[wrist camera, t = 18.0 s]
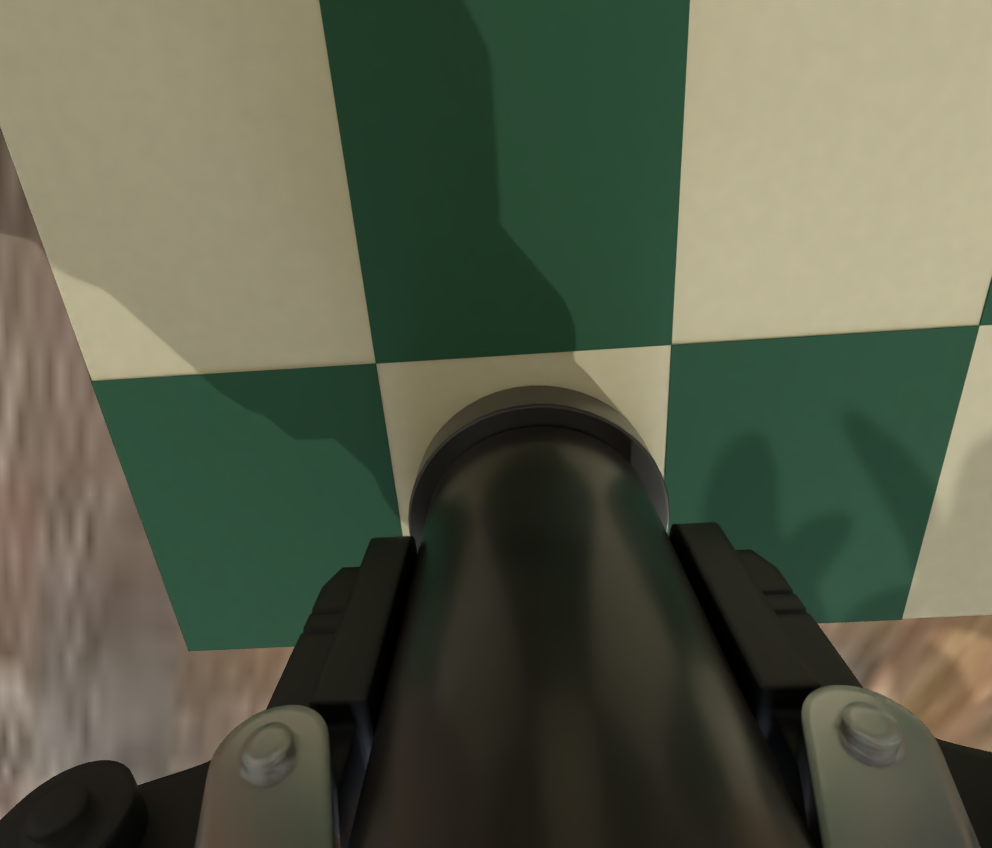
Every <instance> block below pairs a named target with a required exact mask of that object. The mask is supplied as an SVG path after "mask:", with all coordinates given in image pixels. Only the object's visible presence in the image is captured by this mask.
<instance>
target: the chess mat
mask: <svg viewBox="0 0 992 848" xmlns="http://www.w3.org/2000/svg"><path fill="white" fill-rule="evenodd" d="M0 128H1V130H2V133H3V136H4V139H5V141H6V144H7V147H8V150H9V152H10V155H11V158H12V161H13V163H14V166H15V169H16V172H17V175H18V177H19V180H20V183H21V186H22V188H23V191H24V194H25V197H26V199H27V202H28V205H29V208H30V211H31V213H32V216H33V219H34V222H35V224H36V227H37V230H38V233H39V235H40V238H41V241H42V244H43V246H44V249H45V252H46V255H47V258H48V260H49V263H50V266H51V269H52V271H53V274H54V277H55V280H56V282H57V285H58V288H59V291H60V294H61V296H62V299H63V302H64V305H65V307H66V310H67V313H68V316H69V318H70V321H71V324H72V327H73V329H74V332H75V335H76V338H77V341H78V343H79V346H80V349H81V352H82V354H83V357H84V360H85V363H86V365H87V368H88V371H89V374H90V377H91V379H92V382H91V383H92V386H93V388H94V391H95V394H96V397H97V400H98V402H99V405H100V408H101V411H102V413H103V416H104V419H105V422H106V424H107V427H108V430H109V433H110V435H111V438H112V441H113V444H114V446H115V449H116V452H117V455H118V457H119V460H120V463H121V466H122V469H123V471H124V474H125V477H126V480H127V482H128V485H129V488H130V491H131V493H132V496H133V499H134V502H135V504H136V507H137V510H138V513H139V515H140V518H141V521H142V524H143V526H144V529H145V532H146V535H147V538H148V540H149V543H150V546H151V549H152V551H153V554H154V557H155V560H156V562H157V565H158V568H159V571H160V573H161V576H162V579H163V582H164V584H165V587H166V590H167V593H168V595H169V598H170V601H171V604H172V606H173V609H174V612H175V615H176V618H177V620H178V623H179V626H180V629H181V631H182V634H183V637H184V640H185V642H186V645H187V648H188V651H203V650H226V649H249V648H271V647H294V646H295V645H296V643H297V641H298V639H299V637H300V634H301V633H303V628H304V626H305V623H306V621H307V619H308V617H309V615H310V614H312V608H313V606H314V604H315V602H316V599H317V597H318V595H319V593H320V591H321V588H322V587H323V586H324V585H325V584H326V583H327V582H328V581H329V580H330V579H331V578H332V577H333V576H334V575H335V574H336V573H337V572H338V571H339V570H340V569H341V568H342V567H360V565H361V563H362V560H363V558H364V555H365V552H366V550H367V547H368V545H369V542H370V540H371V539H372V538H379V537H400V536H410V534H409V522H408V514H409V502H410V498H411V494H412V490H413V486H414V483H415V480H416V476H417V473H418V470H419V467H420V464H421V461H422V459H423V456H424V454H425V451H426V449H427V448H428V446H429V444H430V443H431V441H432V439H433V438H434V436H435V435H436V434H437V433H438V431H439V430H440V429H441V428H442V426H443V425H444V424H445V423H446V422H447V421H448V420H450V419H451V418H452V417H453V416H454V415H455V414H456V413H458V412H459V411H461V410H462V409H463V408H465V407H466V406H468V405H469V404H471V403H473V402H475V401H477V400H479V399H480V398H483V397H485V396H488V395H490V394H493V393H495V392H498V391H502V390H506V389H510V388H515V387H524V386H554V387H562V388H567V389H571V390H575V391H579V392H582V393H584V394H587V395H589V396H592V397H594V398H597V399H598V400H600V401H602V402H604V403H605V404H607V405H609V406H611V407H612V408H613V409H615V410H616V411H617V412H619V413H620V414H621V415H622V416H624V417H625V418H626V419H627V421H628V422H629V423H630V424H631V425H632V426H633V427H634V428H635V429H636V431H637V432H638V433H639V435H640V436H641V437H642V439H643V441H644V442H645V444H646V446H647V448H648V450H649V451H650V453H651V455H652V457H653V459H654V460H655V462H656V464H657V466H658V468H659V470H660V472H661V474H662V476H663V479H664V482H665V485H666V488H667V491H668V497H669V503H670V524H669V531H668V536H669V535H670V529H671V526H672V525H673V524H685V523H706V522H716V523H718V524H719V525H720V527H721V528H722V530H723V531H724V533H725V535H726V536H727V538H728V539H729V541H730V542H731V544H732V546H733V547H734V549H735V550H747V549H751V550H753V551H754V552H756V553H757V554H759V555H760V556H761V557H763V558H764V559H766V560H767V561H768V562H770V563H771V564H773V565H774V566H776V567H777V568H778V570H779V571H780V572H781V574H782V575H783V577H784V578H785V579H786V581H787V582H788V584H789V585H790V586H791V588H792V589H793V594H796V595H797V596H798V598H799V599H800V600H801V602H802V603H803V605H804V606H805V607H806V611H807V614H808V613H810V614H811V616H812V617H813V618H814V620H815V621H816V623H838V622H861V621H883V620H902V619H906V618H928V617H951V616H973V615H992V0H0Z"/></svg>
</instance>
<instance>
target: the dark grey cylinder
mask: <svg viewBox="0 0 992 848" xmlns="http://www.w3.org/2000/svg"><path fill="white" fill-rule="evenodd" d="M408 522H409V534H410V536H413V537H414V539H415V542H416V547H417V558H416V562H415V566H414V570H413V575H412V579H411V583H410V587H409V591H408V596H407V600H406V604H405V608H404V612H403V617H402V621H401V625H400V629H399V634H398V638H397V642H396V646H395V650H394V655H393V659H392V663H391V667H390V671H389V676H388V680H387V684H386V688H385V692H384V697H383V701H382V705H381V709H380V713H379V718H378V722H377V726H376V730H375V734H374V739H373V743H372V747H371V751H370V755H369V760H368V764H367V768H366V772H365V776H364V781H363V785H362V789H361V793H360V797H359V802H358V806H357V810H356V814H355V818H354V823H353V827H352V831H351V835H350V839H349V844H348V848H816V846H815V844H814V842H813V839H812V837H811V835H810V833H809V831H808V829H807V827H806V825H805V823H804V821H803V818H802V816H801V814H800V812H799V810H798V808H797V806H796V804H795V802H794V799H793V797H792V795H791V793H790V791H789V789H788V787H787V785H786V783H785V780H784V778H783V776H782V774H781V772H780V770H779V768H778V766H777V764H776V762H775V759H774V757H773V755H772V753H771V751H770V749H769V747H768V745H767V743H766V740H765V738H764V736H763V734H762V732H761V730H760V728H759V726H758V724H757V721H756V719H755V717H754V715H753V713H752V711H751V709H750V707H749V705H748V703H747V700H746V698H745V696H744V694H743V692H742V690H741V688H740V686H739V684H738V681H737V679H736V677H735V675H734V673H733V671H732V669H731V667H730V665H729V663H728V660H727V658H726V656H725V654H724V652H723V650H722V648H721V646H720V644H719V641H718V639H717V637H716V635H715V633H714V631H713V629H712V627H711V625H710V622H709V620H708V618H707V616H706V614H705V612H704V610H703V608H702V606H701V604H700V601H699V599H698V597H697V595H696V593H695V591H694V589H693V587H692V585H691V582H690V580H689V578H688V576H687V574H686V572H685V570H684V568H683V566H682V563H681V561H680V559H679V557H678V555H677V553H676V551H675V549H674V547H673V545H672V542H671V540H670V538H669V536H668V531H669V524H670V503H669V497H668V491H667V488H666V485H665V482H664V479H663V476H662V474H661V472H660V470H659V468H658V466H657V464H656V462H655V460H654V459H653V457H652V455H651V453H650V451H649V450H648V448H647V446H646V444H645V442H644V441H643V439H642V437H641V436H640V435H639V433H638V432H637V431H636V429H635V428H634V427H633V426H632V425H631V424H630V423H629V422H628V421H627V419H626V418H625V417H624V416H622V415H621V414H620V413H619V412H617V411H616V410H615V409H613V408H612V407H611V406H609V405H607V404H605V403H604V402H602V401H600V400H598V399H597V398H594V397H592V396H589V395H587V394H584V393H582V392H579V391H575V390H571V389H567V388H562V387H554V386H524V387H515V388H510V389H506V390H502V391H498V392H495V393H493V394H490V395H488V396H485V397H483V398H480V399H479V400H477V401H475V402H473V403H471V404H469V405H468V406H466V407H465V408H463V409H462V410H461V411H459V412H458V413H456V414H455V415H454V416H453V417H452V418H451V419H450V420H448V421H447V422H446V423H445V424H444V425H443V426H442V428H441V429H440V430H439V431H438V433H437V434H436V435H435V436H434V438H433V439H432V441H431V443H430V444H429V446H428V448H427V449H426V451H425V454H424V456H423V459H422V461H421V464H420V467H419V470H418V473H417V476H416V480H415V483H414V486H413V490H412V494H411V498H410V502H409V514H408Z"/></svg>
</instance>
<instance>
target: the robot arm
mask: <svg viewBox="0 0 992 848" xmlns="http://www.w3.org/2000/svg"><path fill="white" fill-rule="evenodd" d="M669 538H670V540H671V542H672V545H673V547H674V549H675V551H676V553H677V555H678V557H679V559H680V561H681V563H682V566H683V568H684V570H685V572H686V574H687V576H688V578H689V580H690V582H691V585H692V587H693V589H694V591H695V593H696V595H697V597H698V599H699V601H700V604H701V606H702V608H703V610H704V612H705V614H706V616H707V618H708V620H709V622H710V625H711V627H712V629H713V631H714V633H715V635H716V637H717V639H718V641H719V644H720V646H721V648H722V650H723V652H724V654H725V656H726V658H727V660H728V663H729V665H730V667H731V669H732V671H733V673H734V675H735V677H736V679H737V681H738V684H739V686H740V688H741V690H742V692H743V694H744V696H745V698H746V700H747V703H748V705H749V707H750V709H751V711H752V713H753V715H754V717H755V719H756V721H757V724H758V726H759V728H760V730H761V732H762V734H763V736H764V738H765V740H766V743H767V745H768V747H769V749H770V751H771V753H772V755H773V757H774V759H775V762H776V764H777V766H778V768H779V770H780V772H781V774H782V776H783V778H784V780H785V783H786V785H787V787H788V789H789V791H790V793H791V795H792V797H793V799H794V802H795V804H796V806H797V808H798V810H799V812H800V814H801V816H802V818H803V821H804V823H805V825H806V827H807V829H808V831H809V833H810V835H811V837H812V839H813V842H814V844H815V846H816V848H992V752H987V751H983V750H979V749H974V748H970V747H966V746H961V745H957V744H953V743H950V742H946V741H942V740H939V739H937V738H935V737H934V736H933V735H932V733H931V732H930V730H929V729H928V728H927V727H926V726H925V725H924V724H923V723H922V722H921V721H920V720H919V719H918V718H917V717H916V716H915V715H913V714H912V713H911V712H910V711H908V710H907V709H906V708H904V707H903V706H901V705H900V704H898V703H896V702H895V701H893V700H891V699H889V698H887V697H885V696H883V695H881V694H879V693H876V692H873V691H870V690H867V689H864V688H863V687H862V685H861V684H860V683H859V681H858V680H857V678H856V677H855V676H854V674H853V673H852V671H851V670H850V669H849V667H848V666H847V664H846V663H845V662H844V660H843V659H842V658H841V656H840V655H839V653H838V652H837V651H836V649H835V648H834V646H833V645H832V644H831V642H830V641H829V639H828V638H827V637H826V635H825V634H824V632H823V631H822V630H821V628H820V627H819V625H818V624H817V623H816V621H815V620H814V618H813V617H812V616H811V614H810V613H808V614H807V611H806V607H805V606H804V605H803V603H802V602H801V600H800V599H799V598H798V596H797V595H796V594H793V589H792V588H791V586H790V585H789V584H788V582H787V581H786V579H785V578H784V577H783V575H782V574H781V572H780V571H779V570H778V568H777V567H776V566H774V565H773V564H771V563H770V562H768V561H767V560H766V559H764V558H763V557H761V556H760V555H759V554H757V553H756V552H754V551H753V550H751V549H747V550H735V549H734V547H733V546H732V544H731V542H730V541H729V539H728V538H727V536H726V535H725V533H724V531H723V530H722V528H721V527H720V525H719V524H718V523H716V522H706V523H685V524H673V525H672V526H671V529H670V535H669ZM416 558H417V547H416V542H415V539H414V537H413V536H400V537H379V538H372V539H371V540H370V542H369V545H368V547H367V550H366V552H365V555H364V558H363V560H362V563H361V565H360V567H342V568H341V569H340V570H339V571H338V572H337V573H336V574H335V575H334V576H333V577H332V578H331V579H330V580H329V581H328V582H327V583H326V584H325V585H324V586H323V587H322V588H321V591H320V593H319V595H318V597H317V599H316V602H315V604H314V606H313V608H312V614H310V615H309V617H308V619H307V621H306V623H305V626H304V628H303V633H301V634H300V637H299V639H298V641H297V643H296V645H295V647H294V650H293V652H292V654H291V656H290V658H289V661H288V663H287V665H286V667H285V669H284V672H283V674H282V676H281V678H280V680H279V682H278V685H277V687H276V689H275V691H274V693H273V696H272V698H271V700H270V702H269V704H268V706H267V709H266V710H264V711H262V712H260V713H258V714H256V715H253V716H252V717H250V718H249V719H247V720H245V721H244V722H243V723H241V724H240V725H239V726H237V727H236V728H235V729H234V730H233V731H232V732H231V733H230V734H229V735H228V736H227V737H226V738H225V739H224V740H223V742H222V743H221V744H220V745H219V747H218V749H217V750H216V752H215V753H214V755H213V758H212V760H210V761H208V762H206V763H204V764H201V765H199V766H196V767H193V768H190V769H187V770H184V771H181V772H178V773H175V774H172V775H169V776H165V777H162V778H159V779H156V780H153V781H150V782H147V783H144V784H141V785H138V786H137V783H136V781H135V779H134V777H133V775H132V773H131V771H130V770H129V769H128V768H127V767H126V766H125V765H124V764H121V763H119V762H116V761H110V760H100V761H94V762H88V763H85V764H82V765H78V766H76V767H73V768H71V769H68V770H66V771H64V772H62V773H60V774H58V775H56V776H54V777H53V778H51V779H49V780H48V781H46V782H45V783H43V784H42V785H40V786H39V787H37V788H36V789H35V790H33V791H32V792H31V793H29V794H28V795H27V796H26V797H25V798H24V799H22V800H21V801H20V802H19V803H18V804H17V805H16V806H15V807H14V808H13V809H12V810H11V811H9V812H8V813H7V814H6V815H5V816H4V817H3V818H2V819H1V820H0V848H348V844H349V839H350V835H351V831H352V827H353V823H354V818H355V814H356V810H357V806H358V802H359V797H360V793H361V789H362V785H363V781H364V776H365V772H366V768H367V764H368V760H369V755H370V751H371V747H372V743H373V739H374V734H375V730H376V726H377V722H378V718H379V713H380V709H381V705H382V701H383V697H384V692H385V688H386V684H387V680H388V676H389V671H390V667H391V663H392V659H393V655H394V650H395V646H396V642H397V638H398V634H399V629H400V625H401V621H402V617H403V612H404V608H405V604H406V600H407V596H408V591H409V587H410V583H411V579H412V575H413V570H414V566H415V562H416Z"/></svg>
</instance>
